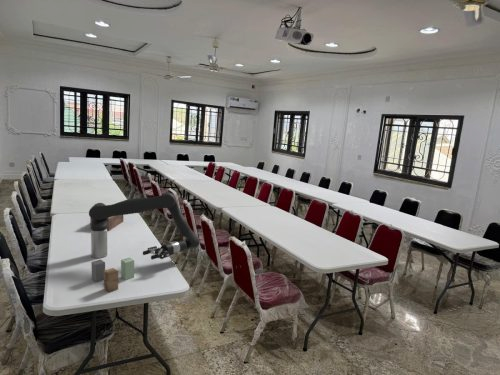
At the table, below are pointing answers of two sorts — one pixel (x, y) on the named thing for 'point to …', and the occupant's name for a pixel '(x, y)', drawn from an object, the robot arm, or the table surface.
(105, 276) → the walnut block
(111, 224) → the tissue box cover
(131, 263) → the sage block
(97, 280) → the charcoal block
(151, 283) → the table surface
